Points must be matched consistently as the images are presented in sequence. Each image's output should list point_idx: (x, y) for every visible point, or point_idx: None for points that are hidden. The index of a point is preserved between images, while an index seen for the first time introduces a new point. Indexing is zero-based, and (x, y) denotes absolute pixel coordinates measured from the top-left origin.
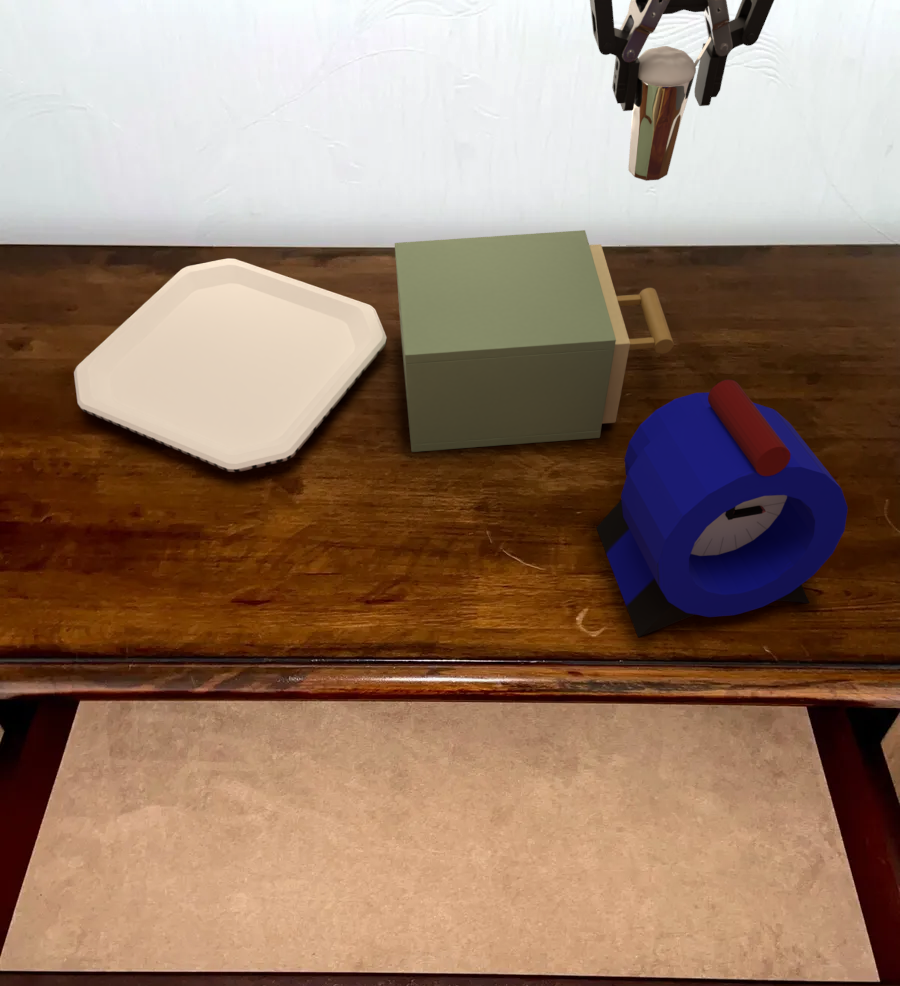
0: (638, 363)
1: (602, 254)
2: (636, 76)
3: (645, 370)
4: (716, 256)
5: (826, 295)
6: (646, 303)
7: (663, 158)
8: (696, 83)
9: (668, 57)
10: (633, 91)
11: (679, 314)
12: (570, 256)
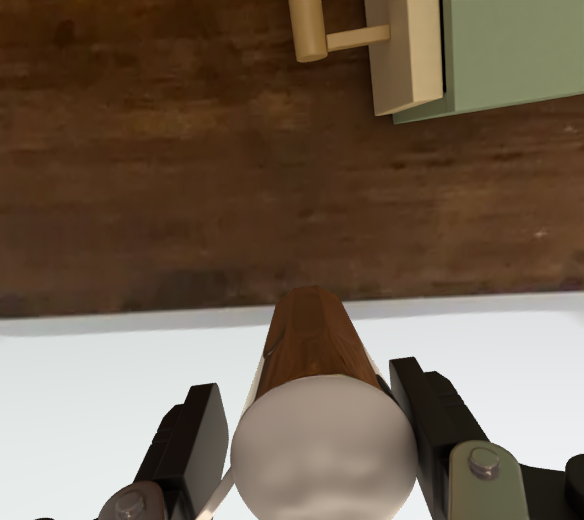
0: None
1: (415, 64)
2: (420, 413)
3: None
4: (191, 289)
5: (48, 216)
6: (318, 13)
7: (291, 303)
8: (224, 451)
9: (324, 479)
10: (409, 385)
11: (244, 167)
12: (498, 9)
